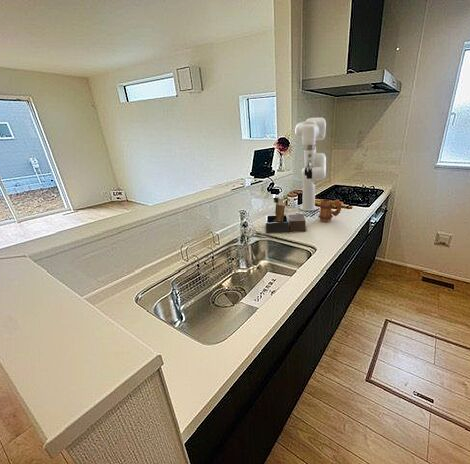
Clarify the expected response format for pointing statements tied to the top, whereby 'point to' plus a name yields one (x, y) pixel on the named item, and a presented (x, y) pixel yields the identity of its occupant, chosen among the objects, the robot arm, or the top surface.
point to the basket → (277, 225)
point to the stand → (296, 223)
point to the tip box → (279, 208)
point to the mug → (329, 209)
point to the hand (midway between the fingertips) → (308, 177)
